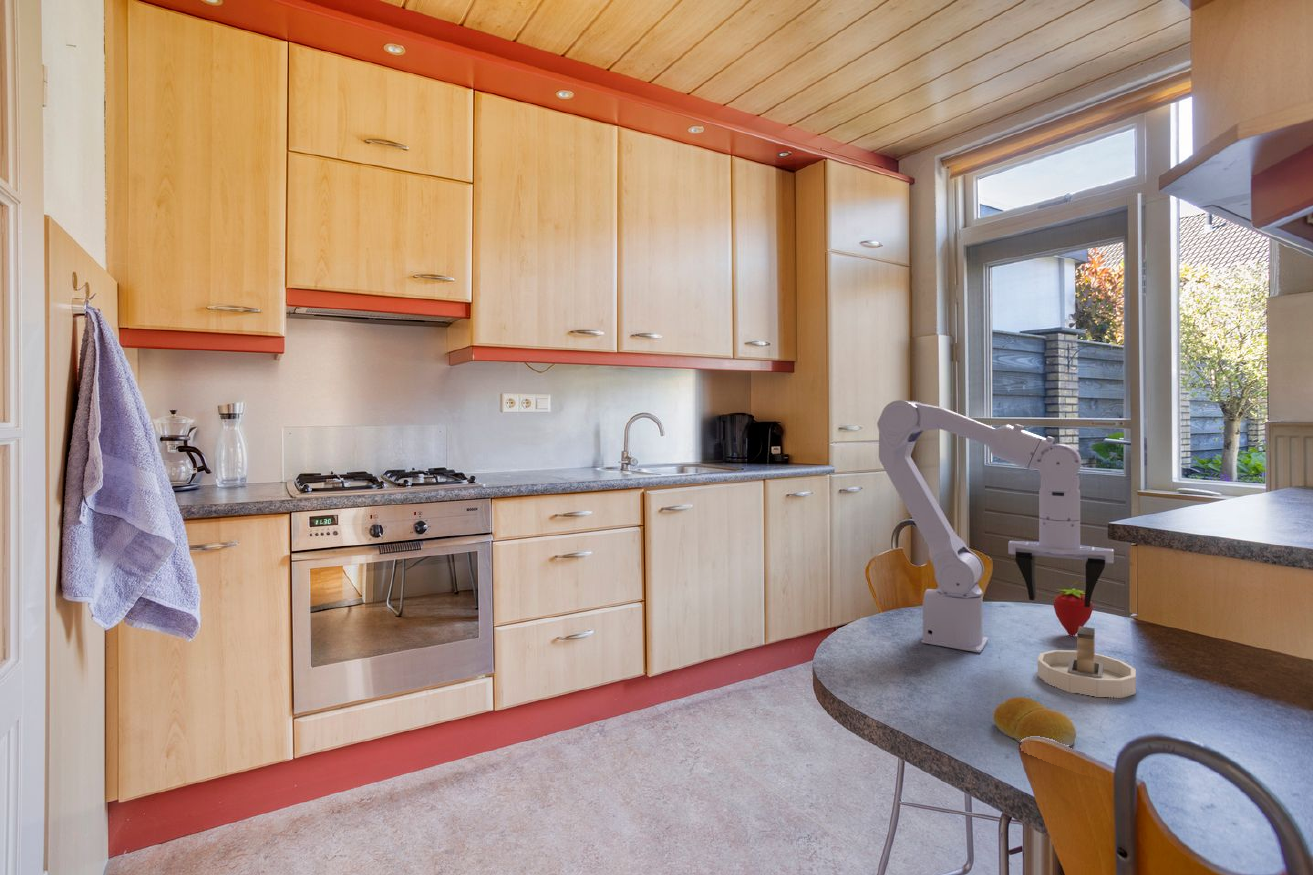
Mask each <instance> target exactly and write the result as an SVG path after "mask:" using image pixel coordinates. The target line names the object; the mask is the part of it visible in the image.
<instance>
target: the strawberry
mask: <svg viewBox="0 0 1313 875" xmlns="http://www.w3.org/2000/svg"><path fill="white" fill-rule="evenodd" d="M1077 583H1078V581H1076V582H1075V583H1073V585H1071V586H1070V589H1067V588H1062V589H1061V588H1058V589H1056V590H1057V591H1059V593H1057V596H1056V597H1055V598H1054V601H1053V609H1054V612H1055V616H1056V617H1057V619H1058V620H1059V622H1060V624H1061V625H1062V627H1063V628H1064V630H1065V631H1066V633H1067V634H1068V635H1069V636H1071V635H1072V636H1071V637H1073V635H1074V636H1076V635H1077V632H1078V628H1079V626H1081V627H1085V625H1086V624H1087V622H1088V621H1089V620H1090V618H1091V616H1092V613H1093V609H1094V607H1093V601H1092V600H1091V602H1090V607H1085V606H1084V600H1085V591H1086V590H1079V589H1076V588H1075V587H1074V588H1072V587H1073V586H1074V585H1076V584H1077Z"/></svg>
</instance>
